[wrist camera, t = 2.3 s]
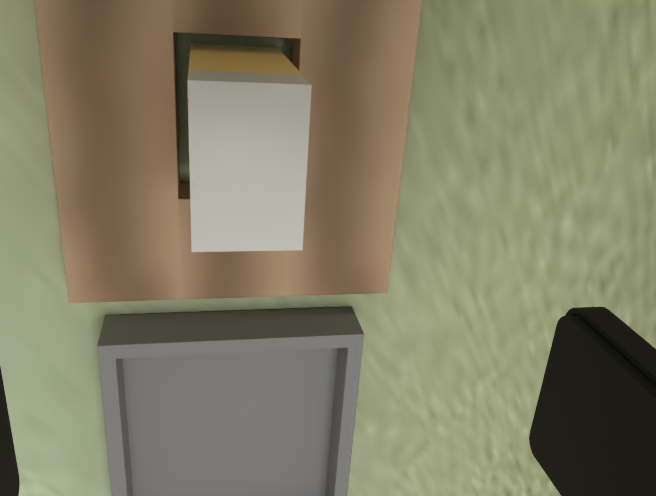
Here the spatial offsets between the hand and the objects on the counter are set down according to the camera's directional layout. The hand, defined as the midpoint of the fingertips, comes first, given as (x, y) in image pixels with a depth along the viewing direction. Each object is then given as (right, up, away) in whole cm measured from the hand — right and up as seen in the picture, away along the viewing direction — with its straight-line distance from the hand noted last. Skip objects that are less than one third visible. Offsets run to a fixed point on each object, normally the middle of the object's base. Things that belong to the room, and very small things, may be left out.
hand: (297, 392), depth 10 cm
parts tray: (-5, -8, +27) cm, 29 cm away
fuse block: (-4, +9, +20) cm, 22 cm away
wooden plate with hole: (-4, +9, +20) cm, 22 cm away
